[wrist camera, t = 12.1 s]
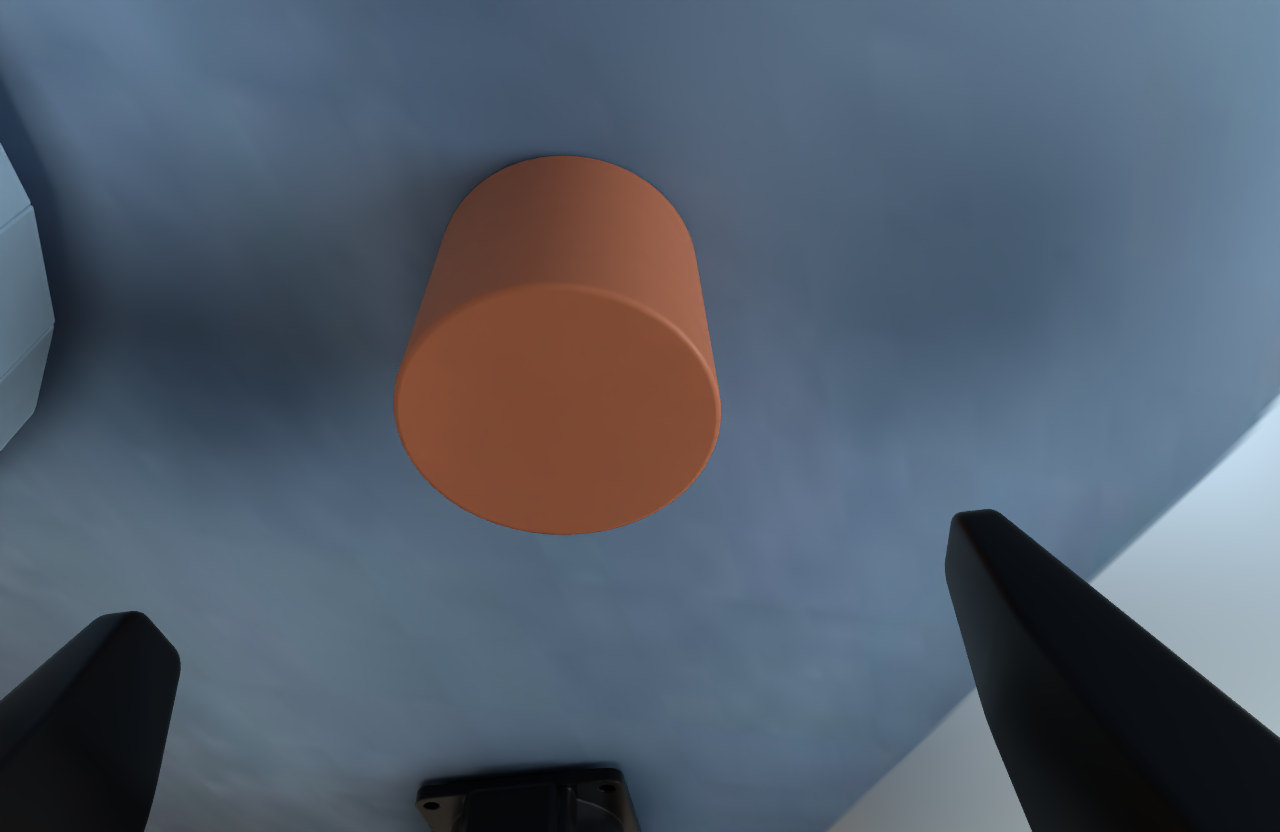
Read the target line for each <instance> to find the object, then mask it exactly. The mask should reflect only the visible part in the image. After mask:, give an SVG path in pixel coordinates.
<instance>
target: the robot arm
mask: <svg viewBox="0 0 1280 832" xmlns="http://www.w3.org/2000/svg"><path fill="white" fill-rule="evenodd" d="M945 575H946V580H947V585H948V588H949V592H950V596H951V599H952V603H953V606H954V610H955V613H956V617H957V620H958V624H959V627H960V631H961V634H962V638H963V641H964V645H965V648H966V652H967V655H968V659H969V662H970V666H971V669H972V673H973V676H974V680H975V683H976V687H977V690H978V694H979V697H980V701H981V704H982V707H983V710H984V714H985V717H986V719H987V722H988V725H989V727H990V730H991V733H992V735H993V738H994V740H995V743H996V745H997V748H998V750H999V752H1000V755H1001V757H1002V760H1003V762H1004V765H1005V767H1006V769H1007V772H1008V774H1009V777H1010V779H1011V782H1012V784H1013V786H1014V789H1015V791H1016V794H1017V796H1018V799H1019V801H1020V803H1021V806H1022V808H1023V810H1024V813H1025V815H1026V818H1027V820H1028V823H1029V825H1030V827H1031V830H1032V832H1280V738H1279V737H1278V736H1277V735H1276V734H1274V733H1273V732H1272V731H1271V730H1269V729H1268V728H1267V727H1266V726H1265V725H1263V724H1262V723H1261V722H1259V721H1258V720H1257V719H1256V718H1255V717H1253V716H1252V715H1251V714H1250V713H1248V712H1247V711H1246V710H1245V709H1243V708H1242V707H1241V706H1240V705H1238V704H1237V703H1236V702H1235V701H1233V700H1232V699H1231V698H1230V697H1228V696H1227V695H1226V694H1225V693H1223V692H1222V691H1221V690H1220V689H1218V688H1217V687H1216V686H1215V685H1213V684H1212V683H1211V682H1210V681H1209V680H1207V679H1206V678H1205V677H1204V676H1202V675H1201V674H1200V673H1199V672H1197V671H1196V670H1195V669H1194V668H1192V667H1191V666H1190V665H1188V664H1187V663H1186V662H1185V661H1183V660H1182V659H1181V658H1180V657H1179V656H1177V655H1176V654H1175V653H1174V652H1172V651H1171V650H1170V649H1169V648H1167V647H1166V646H1165V645H1164V644H1162V643H1161V642H1160V641H1159V640H1157V639H1156V638H1155V637H1154V636H1153V635H1151V634H1150V633H1149V632H1148V631H1146V630H1145V629H1144V628H1143V627H1141V626H1140V625H1139V624H1138V623H1136V622H1135V621H1134V620H1133V619H1131V618H1130V617H1129V616H1128V615H1126V614H1125V613H1124V612H1123V611H1121V610H1120V609H1119V608H1118V607H1116V606H1115V605H1114V604H1113V603H1111V602H1110V601H1109V600H1108V599H1107V598H1105V597H1104V596H1103V595H1102V594H1100V593H1099V592H1098V591H1097V590H1095V589H1094V588H1093V587H1092V586H1090V585H1089V584H1088V583H1087V582H1085V581H1084V580H1083V579H1082V578H1080V577H1079V576H1078V575H1077V574H1075V573H1074V572H1073V571H1072V570H1070V569H1069V568H1068V567H1067V566H1065V565H1064V564H1063V563H1062V562H1061V561H1059V560H1058V559H1057V558H1056V557H1054V556H1053V555H1052V554H1051V553H1049V552H1048V551H1047V550H1046V549H1044V548H1043V547H1042V546H1041V545H1039V544H1038V543H1037V542H1036V541H1034V540H1033V539H1032V538H1031V537H1029V536H1028V535H1027V534H1026V533H1024V532H1023V531H1022V530H1021V529H1019V528H1018V527H1017V526H1016V525H1014V524H1013V523H1012V522H1011V521H1010V520H1008V519H1007V518H1006V517H1005V516H1003V515H1002V514H1001V513H999V512H997V511H995V510H992V509H983V510H974V511H966V512H959V513H957V514H955V515H954V517H953V518H952V521H951V526H950V532H949V539H948V545H947V552H946V559H945ZM180 670H181V662H180V657H179V654H178V652H177V650H176V649H175V647H174V646H173V645H172V644H171V643H170V642H169V641H168V639H167V638H166V637H165V636H164V635H163V634H162V633H161V631H160V630H159V629H158V628H157V627H156V626H155V625H154V624H153V622H152V621H151V620H150V619H149V618H148V617H147V616H146V615H145V614H143V613H141V612H138V611H129V612H121V613H112V614H106V615H103V616H100V617H99V618H97V619H95V620H94V621H93V622H91V623H90V624H89V625H88V626H87V627H86V628H84V629H83V630H82V631H81V632H80V633H79V634H77V635H76V636H75V637H74V638H73V639H72V640H70V641H69V642H68V643H67V644H66V645H65V646H63V647H62V648H61V649H60V650H59V651H58V652H56V653H55V654H54V655H53V656H52V657H51V658H49V659H48V660H47V661H46V662H45V663H44V664H43V665H41V666H40V667H39V668H38V669H37V670H36V671H34V672H33V673H32V674H31V675H30V676H29V677H27V678H26V679H25V680H24V681H23V682H22V683H20V684H19V685H18V686H17V687H16V688H15V689H13V690H12V691H11V692H10V693H9V694H8V695H6V696H5V697H4V698H3V699H2V700H1V701H0V832H144V830H145V827H146V824H147V820H148V817H149V813H150V810H151V806H152V803H153V799H154V794H155V790H156V786H157V782H158V777H159V773H160V768H161V763H162V758H163V753H164V749H165V744H166V739H167V734H168V729H169V724H170V720H171V715H172V710H173V705H174V700H175V696H176V691H177V686H178V681H179V676H180ZM415 806H416V808H417V810H418V811H419V812H420V814H421V815H422V817H423V818H424V819H425V821H426V822H427V824H428V825H429V827H430V828H431V829H432V831H433V832H641V829H640V826H639V822H638V819H637V816H636V813H635V810H634V807H633V804H632V801H631V798H630V794H629V791H628V788H627V785H626V782H625V779H624V776H623V774H622V772H621V771H619V770H617V769H614V768H598V769H588V770H578V771H568V772H558V773H548V774H538V775H528V776H519V777H509V778H499V779H489V780H479V781H469V782H459V783H449V784H439V785H429V786H424V787H422V788H420V789H419V790H418V792H417V797H416V803H415Z"/></svg>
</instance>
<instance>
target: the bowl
mask: <svg viewBox="0 0 1280 832" xmlns="http://www.w3.org/2000/svg"><path fill="white" fill-rule="evenodd" d="M54 323H55V317H54V312H53V306H52V301H51V296H50V291H49V285H48V280H47V275H46V270H45V264H44V259H43V254H42V249H41V243H40V238H39V233H38V228H37V223H36V217H35V212H34V207H33V206H32V205H31V201H30V199H29V197H28V195H27V193H26V191H25V189H24V187H23V185H22V183H21V181H20V179H19V178H18V176H17V174H16V172H15V170H14V168H13V166H12V164H11V162H10V160H9V158H8V156H7V154H6V152H5V150H4V148H3V146H2V144H1V142H0V451H1V450H2V449H3V448H4V447H5V446H6V444H7V443H8V442H9V441H10V440H11V439H12V437H13V436H14V435H15V434H16V433H17V432H18V430H19V429H20V428H21V427H22V426H23V425H24V424H25V422H26V421H27V420H28V419H29V418H30V417H31V415H32V414H33V413H34V410H35V409H36V405H37V400H38V396H39V392H40V387H41V383H42V378H43V374H44V369H45V365H46V361H47V356H48V352H49V347H50V343H51V338H52V334H53V330H54Z"/></svg>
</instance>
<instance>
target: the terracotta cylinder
mask: <svg viewBox="0 0 1280 832" xmlns="http://www.w3.org/2000/svg"><path fill="white" fill-rule="evenodd" d="M394 416H395V421H396V427H397V430H398V433H399V436H400V438H401V441H402V444H403V447H404V449H405V450H406V452H407V454H408V456H409V458H410V460H411V461H412V463H413V464H414V466H415V467H416V468H417V470H418V471H419V472H420V474H421V475H422V476H423V477H424V478H425V479H426V480H427V481H428V482H429V483H430V484H431V485H432V487H433V488H435V489H436V490H437V491H438V492H440V493H441V494H442V495H443V496H444V497H446V498H447V499H448V500H450V501H451V502H453V503H454V504H456V505H458V506H459V507H461V508H462V509H464V510H466V511H468V512H470V513H472V514H474V515H476V516H478V517H480V518H483V519H485V520H488V521H490V522H493V523H495V524H499V525H502V526H505V527H509V528H512V529H517V530H522V531H527V532H532V533H542V534H557V535H572V534H586V533H593V532H599V531H605V530H609V529H613V528H617V527H621V526H624V525H627V524H630V523H633V522H635V521H638V520H641V519H643V518H645V517H647V516H649V515H651V514H653V513H655V512H657V511H658V510H660V509H662V508H663V507H665V506H666V505H668V504H669V503H671V502H672V501H673V500H675V499H676V498H677V497H678V496H680V495H681V494H682V493H683V492H684V491H685V490H686V489H687V488H688V487H689V486H690V485H691V484H692V483H693V482H694V481H695V480H696V478H697V477H698V476H699V474H700V473H701V471H702V470H703V469H704V467H705V466H706V464H707V462H708V460H709V458H710V456H711V454H712V452H713V450H714V447H715V444H716V441H717V438H718V435H719V429H720V423H721V400H720V394H719V388H718V382H717V377H716V371H715V365H714V359H713V353H712V348H711V342H710V336H709V330H708V325H707V319H706V313H705V307H704V302H703V296H702V290H701V284H700V279H699V273H698V267H697V261H696V256H695V251H694V246H693V243H692V240H691V237H690V234H689V232H688V230H687V228H686V226H685V224H684V222H683V220H682V218H681V217H680V215H679V214H678V213H677V211H676V210H675V208H674V207H673V206H672V204H671V203H670V202H669V201H668V200H667V199H666V198H665V197H664V196H663V195H662V194H661V193H660V192H659V191H658V190H657V189H655V188H654V187H653V186H652V185H650V184H649V183H648V182H647V181H645V180H644V179H642V178H640V177H639V176H637V175H635V174H634V173H632V172H630V171H628V170H626V169H623V168H621V167H619V166H617V165H614V164H611V163H608V162H604V161H601V160H598V159H592V158H586V157H581V156H562V155H559V156H548V157H540V158H535V159H530V160H526V161H522V162H520V163H517V164H514V165H511V166H509V167H506V168H504V169H502V170H500V171H499V172H497V173H495V174H493V175H491V176H490V177H488V178H487V179H486V180H484V181H483V182H481V183H480V184H479V185H477V186H476V187H475V188H474V189H473V190H472V191H471V192H470V193H469V194H468V195H467V196H466V197H465V198H464V200H463V201H462V202H461V204H460V205H459V206H458V208H457V209H456V210H455V212H454V214H453V216H452V218H451V220H450V221H449V223H448V226H447V228H446V231H445V234H444V237H443V240H442V243H441V246H440V249H439V252H438V255H437V258H436V261H435V264H434V267H433V270H432V273H431V276H430V279H429V282H428V285H427V287H426V290H425V293H424V296H423V299H422V302H421V305H420V308H419V311H418V314H417V317H416V320H415V323H414V326H413V329H412V332H411V335H410V338H409V341H408V344H407V347H406V350H405V353H404V356H403V359H402V362H401V365H400V368H399V371H398V374H397V377H396V383H395V389H394Z"/></svg>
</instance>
